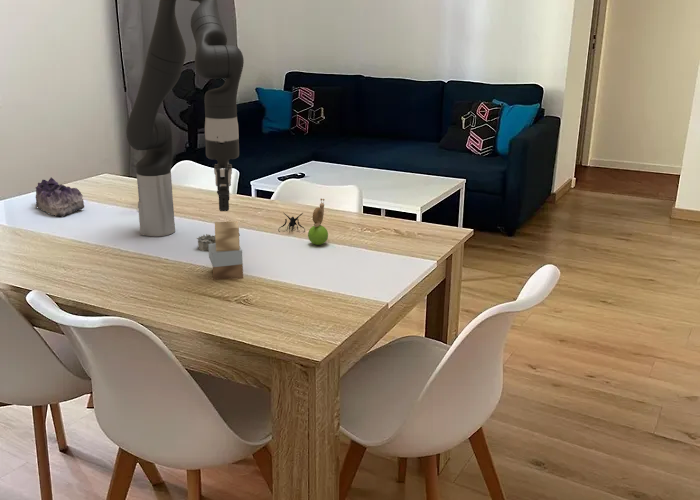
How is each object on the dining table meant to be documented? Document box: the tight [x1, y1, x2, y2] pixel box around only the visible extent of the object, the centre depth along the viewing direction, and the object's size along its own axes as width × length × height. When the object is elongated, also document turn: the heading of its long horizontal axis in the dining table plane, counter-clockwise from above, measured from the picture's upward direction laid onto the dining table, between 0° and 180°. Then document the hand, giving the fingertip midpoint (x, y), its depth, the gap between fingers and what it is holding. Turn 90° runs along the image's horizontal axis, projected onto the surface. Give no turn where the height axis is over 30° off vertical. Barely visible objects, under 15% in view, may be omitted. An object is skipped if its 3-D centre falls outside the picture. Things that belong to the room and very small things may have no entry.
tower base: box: [212, 263, 244, 281], centre depth 175 cm, size 7×7×4 cm
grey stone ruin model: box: [196, 233, 241, 251], centre depth 193 cm, size 10×7×4 cm
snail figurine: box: [307, 198, 329, 246], centre depth 195 cm, size 5×6×12 cm
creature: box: [278, 212, 306, 233], centre depth 208 cm, size 8×5×8 cm
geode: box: [35, 177, 85, 217], centre depth 226 cm, size 20×12×10 cm, turn 49°
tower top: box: [208, 243, 244, 268], centre depth 174 cm, size 7×7×4 cm
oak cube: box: [214, 220, 241, 251], centre depth 172 cm, size 6×6×6 cm
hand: (224, 205), depth 169 cm, fingers open, 8 cm apart
